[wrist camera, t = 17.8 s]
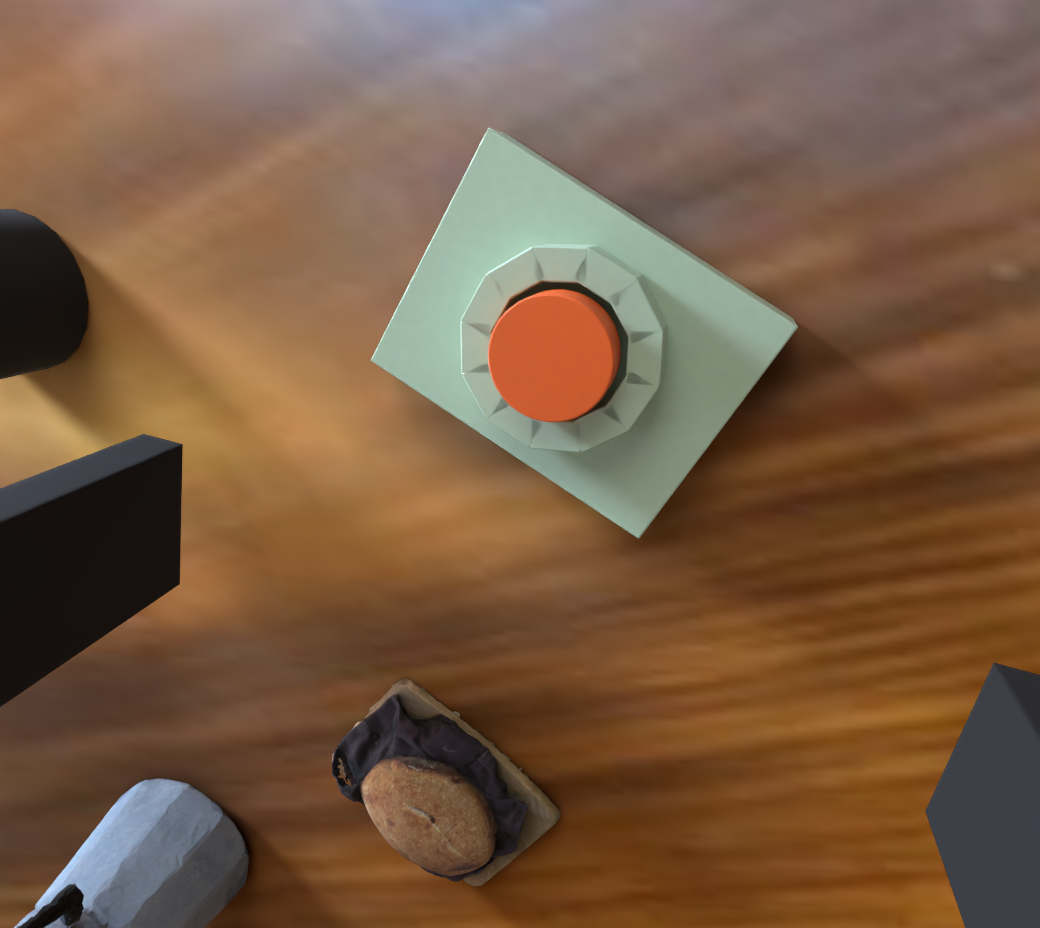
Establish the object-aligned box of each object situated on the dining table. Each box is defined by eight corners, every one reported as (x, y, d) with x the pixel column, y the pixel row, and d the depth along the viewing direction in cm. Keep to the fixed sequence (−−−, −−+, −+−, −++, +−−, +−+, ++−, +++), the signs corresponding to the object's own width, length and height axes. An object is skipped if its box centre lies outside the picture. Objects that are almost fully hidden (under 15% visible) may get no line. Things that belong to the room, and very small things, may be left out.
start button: (645, 333, 27) (640, 340, 25) (579, 433, 28) (569, 447, 27) (540, 264, 27) (527, 268, 25) (480, 368, 29) (465, 377, 27)
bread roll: (573, 804, 38) (558, 862, 35) (473, 885, 42) (451, 945, 38) (410, 664, 38) (380, 708, 35) (323, 757, 41) (287, 806, 38)
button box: (793, 318, 29) (803, 334, 25) (644, 519, 33) (633, 558, 29) (504, 132, 29) (472, 121, 26) (391, 351, 33) (349, 368, 30)
